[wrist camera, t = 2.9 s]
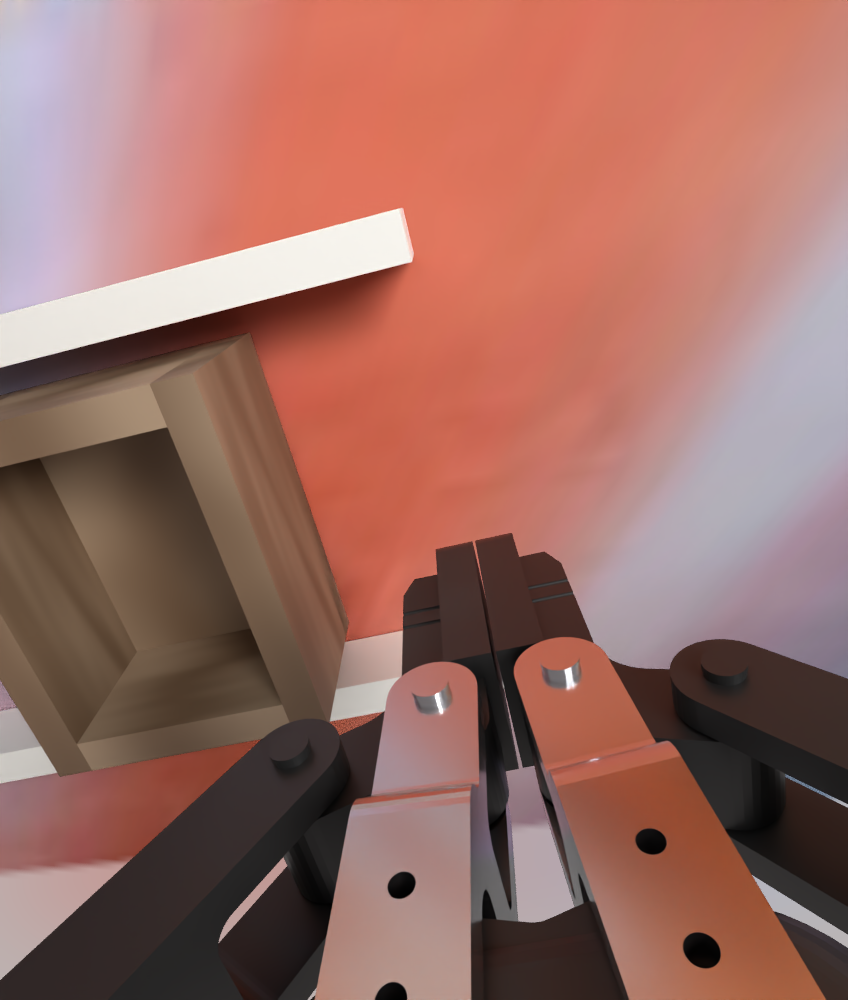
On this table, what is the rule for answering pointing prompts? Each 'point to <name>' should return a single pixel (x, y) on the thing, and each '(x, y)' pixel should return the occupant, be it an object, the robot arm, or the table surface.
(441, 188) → the table surface
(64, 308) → the bay
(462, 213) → the table surface
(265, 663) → the crate
